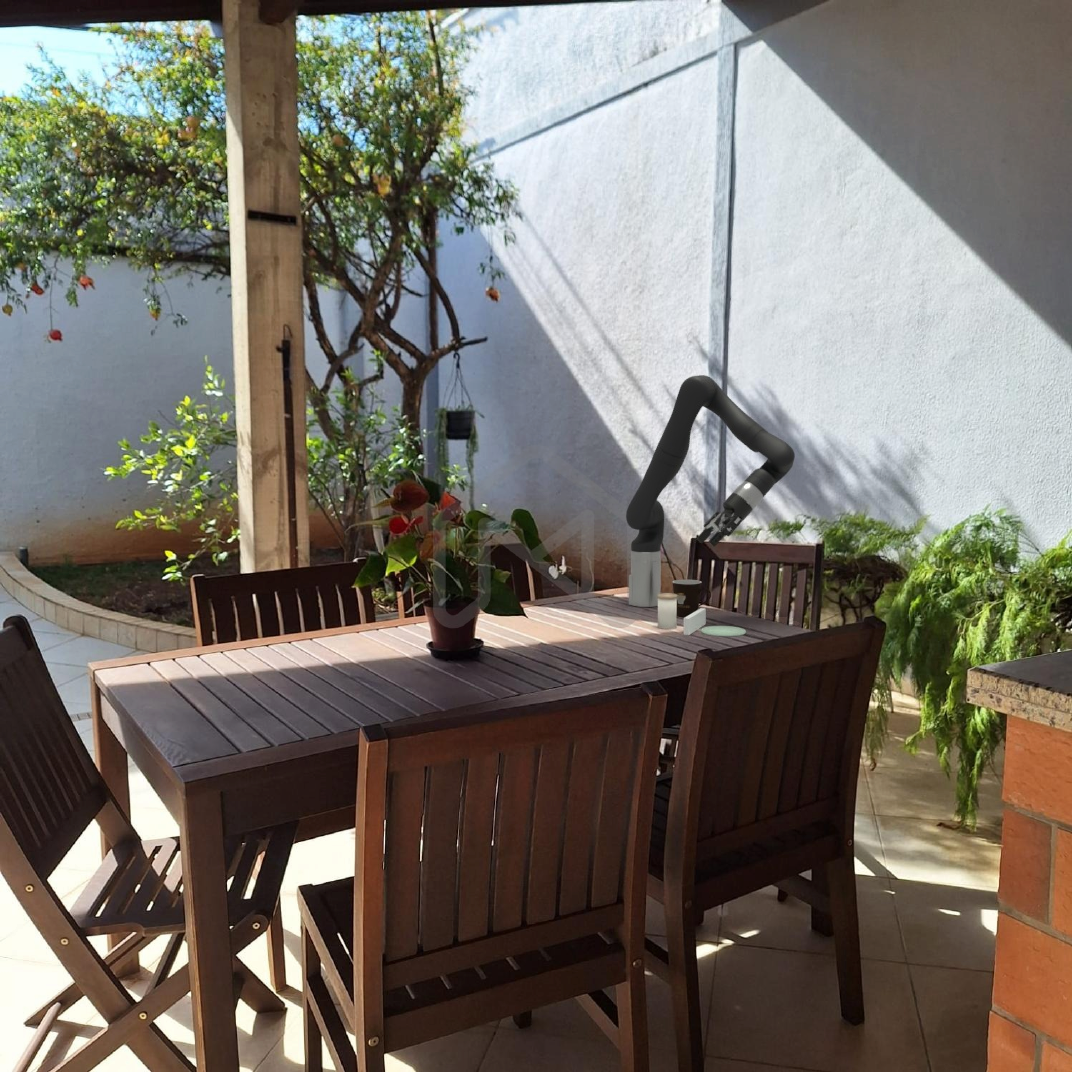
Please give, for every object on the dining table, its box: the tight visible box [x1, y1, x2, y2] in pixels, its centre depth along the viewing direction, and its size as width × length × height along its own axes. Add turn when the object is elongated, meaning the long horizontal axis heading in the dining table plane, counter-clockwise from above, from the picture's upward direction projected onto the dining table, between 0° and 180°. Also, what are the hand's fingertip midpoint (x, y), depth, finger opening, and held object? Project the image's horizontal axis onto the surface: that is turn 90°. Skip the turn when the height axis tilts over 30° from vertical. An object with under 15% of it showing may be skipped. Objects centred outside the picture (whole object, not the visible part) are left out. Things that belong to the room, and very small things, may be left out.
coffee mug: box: [671, 579, 712, 618], centre depth 285 cm, size 12×9×10 cm
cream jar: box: [657, 592, 678, 630], centre depth 270 cm, size 6×6×9 cm
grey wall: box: [683, 607, 707, 636], centre depth 266 cm, size 2×16×4 cm, turn 154°
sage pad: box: [700, 625, 747, 637], centre depth 263 cm, size 12×12×1 cm
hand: (705, 542), depth 272 cm, fingers open, 8 cm apart
